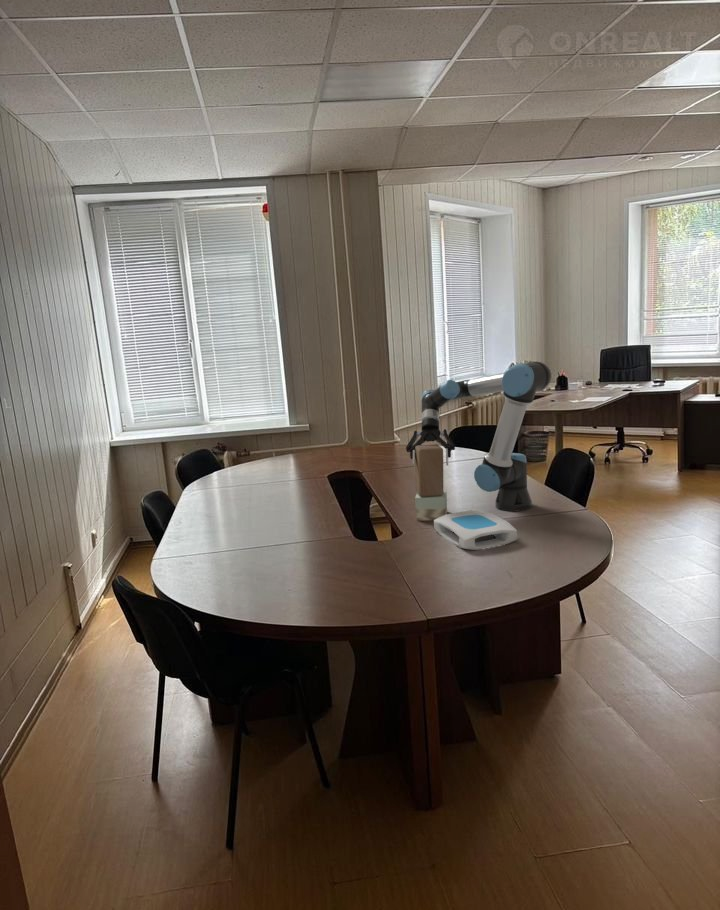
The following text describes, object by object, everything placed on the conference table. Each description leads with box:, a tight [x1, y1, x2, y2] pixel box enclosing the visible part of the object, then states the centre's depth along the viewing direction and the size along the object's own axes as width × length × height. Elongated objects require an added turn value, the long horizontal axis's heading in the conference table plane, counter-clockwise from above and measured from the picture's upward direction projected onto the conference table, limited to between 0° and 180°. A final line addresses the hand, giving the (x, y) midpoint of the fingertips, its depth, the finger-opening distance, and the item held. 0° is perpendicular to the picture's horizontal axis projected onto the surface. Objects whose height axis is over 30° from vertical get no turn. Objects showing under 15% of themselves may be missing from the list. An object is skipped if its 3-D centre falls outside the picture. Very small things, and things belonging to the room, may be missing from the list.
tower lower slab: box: [415, 502, 448, 521], centre depth 278 cm, size 12×12×5 cm
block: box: [414, 444, 444, 497], centre depth 275 cm, size 10×10×20 cm
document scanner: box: [433, 510, 518, 551], centre depth 248 cm, size 21×28×6 cm
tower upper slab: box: [414, 489, 448, 510], centre depth 278 cm, size 12×12×5 cm
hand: (430, 464), depth 272 cm, fingers open, 13 cm apart
